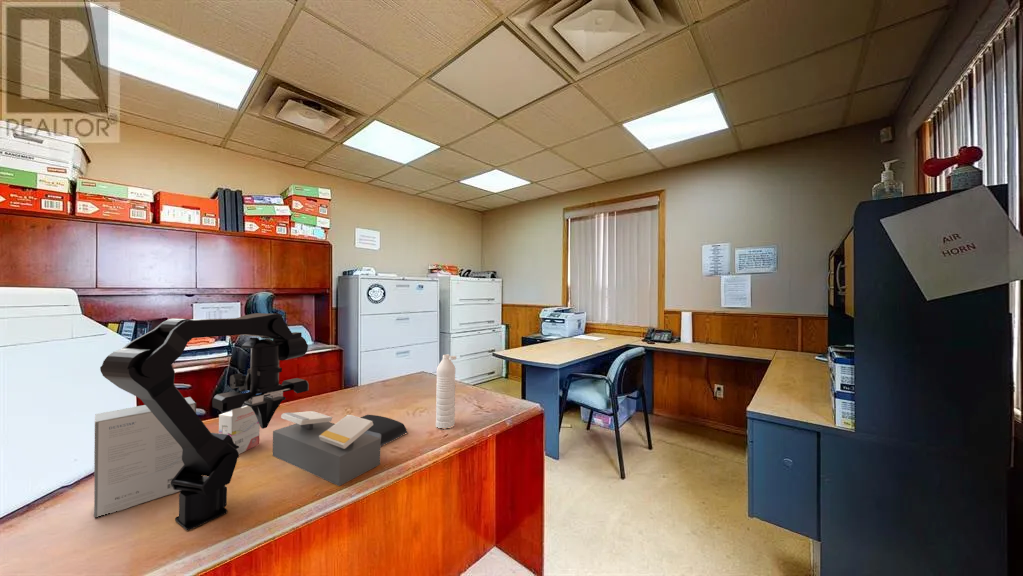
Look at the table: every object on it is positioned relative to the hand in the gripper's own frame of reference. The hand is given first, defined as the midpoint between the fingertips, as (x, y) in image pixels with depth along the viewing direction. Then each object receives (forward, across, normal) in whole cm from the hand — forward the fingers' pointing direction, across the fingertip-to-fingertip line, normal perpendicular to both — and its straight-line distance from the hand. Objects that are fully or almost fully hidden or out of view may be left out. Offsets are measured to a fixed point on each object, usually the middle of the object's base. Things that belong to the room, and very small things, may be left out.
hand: (263, 427), depth 83 cm
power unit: (+13, -14, +3) cm, 19 cm away
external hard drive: (+14, -32, 0) cm, 35 cm away
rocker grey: (+3, -14, -6) cm, 16 cm away
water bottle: (+13, -49, +17) cm, 54 cm away
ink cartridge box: (+13, -5, -24) cm, 28 cm away
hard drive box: (+13, +16, -16) cm, 26 cm away
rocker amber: (+3, -14, +12) cm, 19 cm away
